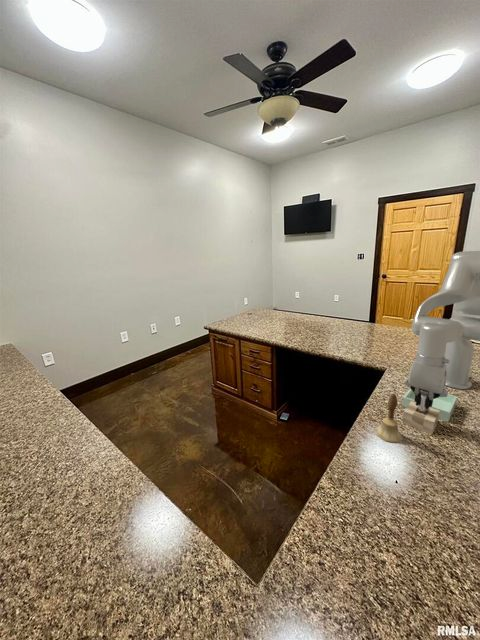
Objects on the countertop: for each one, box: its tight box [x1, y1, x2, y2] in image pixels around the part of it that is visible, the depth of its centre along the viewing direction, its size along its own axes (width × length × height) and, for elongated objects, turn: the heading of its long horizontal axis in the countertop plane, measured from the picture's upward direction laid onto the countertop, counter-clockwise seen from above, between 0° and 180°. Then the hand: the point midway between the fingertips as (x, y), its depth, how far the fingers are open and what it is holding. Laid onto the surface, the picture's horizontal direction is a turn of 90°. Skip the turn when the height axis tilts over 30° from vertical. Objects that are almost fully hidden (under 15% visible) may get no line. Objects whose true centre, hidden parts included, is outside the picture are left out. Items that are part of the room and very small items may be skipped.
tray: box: [401, 387, 458, 423], centre depth 103 cm, size 14×15×4 cm
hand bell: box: [374, 393, 403, 444], centre depth 87 cm, size 8×8×16 cm
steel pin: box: [418, 389, 430, 415], centre depth 92 cm, size 4×4×13 cm
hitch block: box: [401, 401, 440, 435], centre depth 94 cm, size 9×9×5 cm
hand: (422, 405), depth 92 cm, fingers closed on steel pin, 2 cm apart
